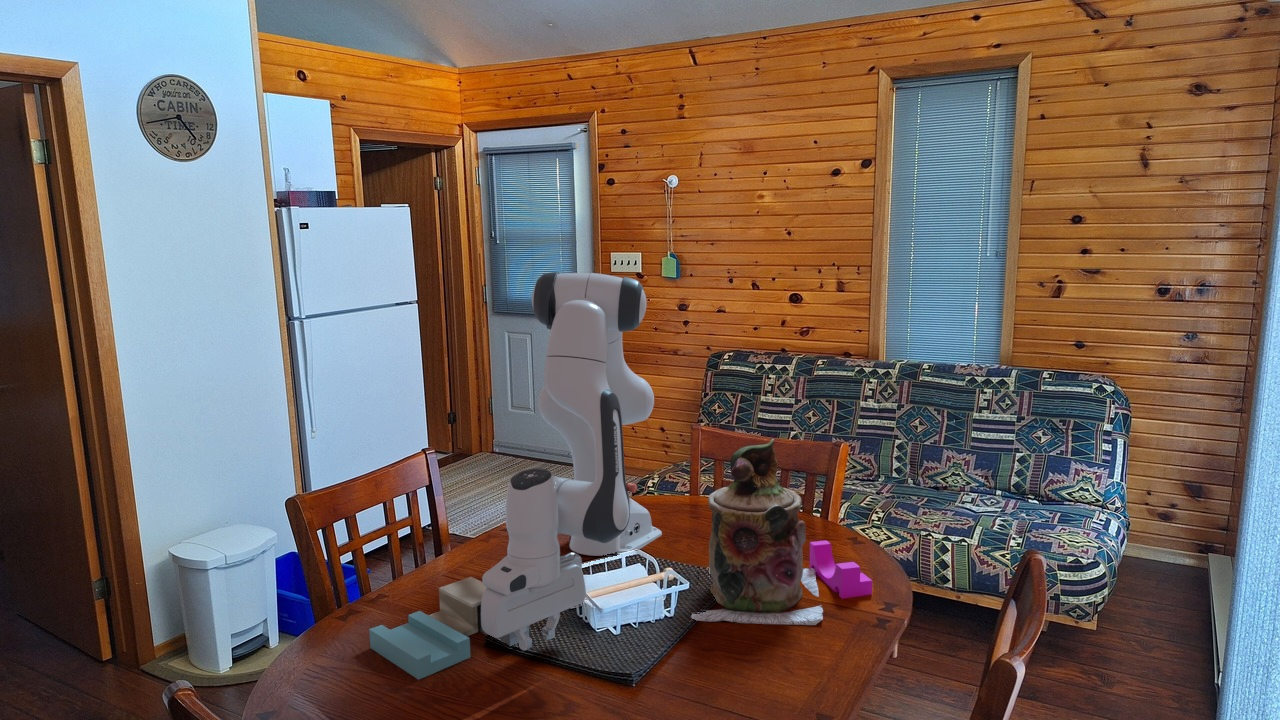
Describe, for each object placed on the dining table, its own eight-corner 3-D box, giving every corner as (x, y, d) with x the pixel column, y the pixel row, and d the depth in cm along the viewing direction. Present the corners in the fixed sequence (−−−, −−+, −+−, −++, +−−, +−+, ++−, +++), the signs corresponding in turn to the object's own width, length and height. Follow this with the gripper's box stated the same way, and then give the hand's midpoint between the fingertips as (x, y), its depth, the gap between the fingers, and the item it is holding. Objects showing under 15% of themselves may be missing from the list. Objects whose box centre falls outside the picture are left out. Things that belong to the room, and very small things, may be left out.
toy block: (871, 602, 160) (872, 565, 159) (841, 606, 159) (842, 569, 158) (837, 573, 175) (837, 539, 174) (809, 576, 173) (809, 542, 172)
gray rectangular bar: (465, 606, 163) (464, 586, 162) (529, 644, 146) (528, 622, 146) (447, 612, 160) (446, 592, 159) (510, 652, 144) (509, 630, 143)
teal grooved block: (420, 628, 152) (419, 610, 152) (470, 657, 141) (469, 637, 141) (370, 648, 145) (369, 629, 145) (418, 679, 134) (417, 659, 134)
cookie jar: (697, 573, 176) (696, 426, 172) (815, 577, 172) (817, 427, 168) (688, 626, 152) (686, 455, 147) (826, 631, 148) (827, 457, 144)
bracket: (482, 600, 164) (481, 573, 164) (516, 616, 157) (515, 588, 156) (429, 620, 156) (427, 591, 155) (462, 638, 148) (460, 608, 148)
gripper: (569, 545, 150) (571, 617, 152) (473, 578, 136) (477, 658, 137) (592, 553, 146) (594, 628, 147) (496, 588, 131) (500, 671, 133)
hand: (537, 643), depth 142 cm, fingers open, 4 cm apart
